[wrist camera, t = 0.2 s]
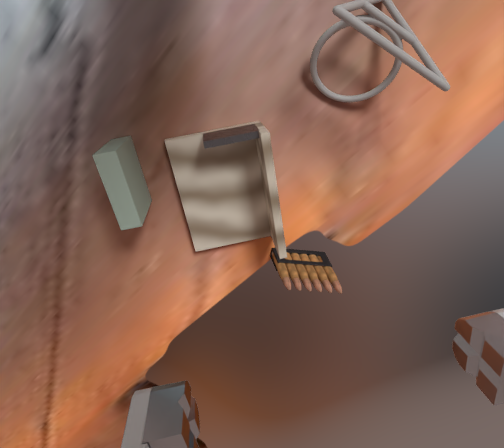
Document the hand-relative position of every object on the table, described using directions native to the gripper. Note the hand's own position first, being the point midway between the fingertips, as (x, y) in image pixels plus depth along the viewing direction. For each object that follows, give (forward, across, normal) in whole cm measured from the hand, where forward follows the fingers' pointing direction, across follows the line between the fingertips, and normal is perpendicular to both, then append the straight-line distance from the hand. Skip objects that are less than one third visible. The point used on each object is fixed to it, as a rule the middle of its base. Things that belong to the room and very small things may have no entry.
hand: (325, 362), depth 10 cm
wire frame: (+51, -22, -9) cm, 56 cm away
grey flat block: (+48, +17, +5) cm, 51 cm away
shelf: (+48, +3, +11) cm, 49 cm away
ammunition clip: (+48, -8, +27) cm, 56 cm away
